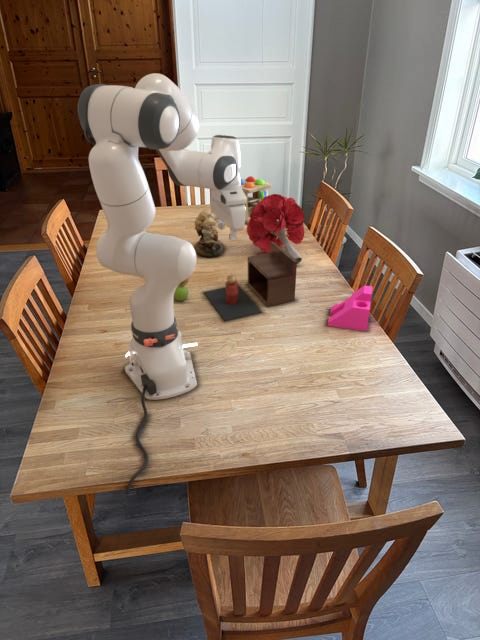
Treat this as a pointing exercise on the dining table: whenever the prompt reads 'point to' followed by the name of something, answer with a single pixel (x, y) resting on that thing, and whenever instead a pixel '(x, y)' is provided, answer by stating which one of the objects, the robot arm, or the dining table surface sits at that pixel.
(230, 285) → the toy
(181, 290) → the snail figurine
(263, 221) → the bouquet
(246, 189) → the pounding bench toy
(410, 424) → the dining table surface
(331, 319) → the bracket
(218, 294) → the felt mat
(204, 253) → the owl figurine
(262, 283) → the open-top box
